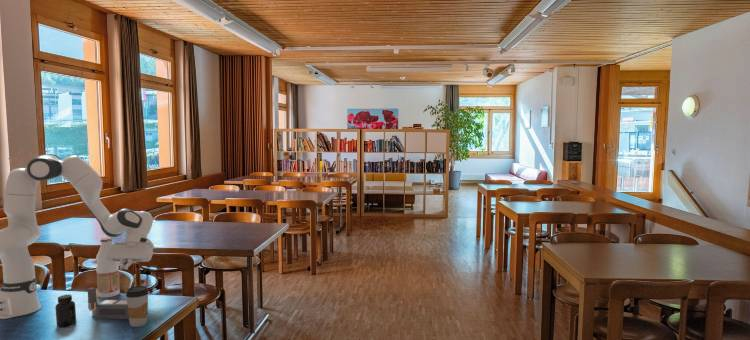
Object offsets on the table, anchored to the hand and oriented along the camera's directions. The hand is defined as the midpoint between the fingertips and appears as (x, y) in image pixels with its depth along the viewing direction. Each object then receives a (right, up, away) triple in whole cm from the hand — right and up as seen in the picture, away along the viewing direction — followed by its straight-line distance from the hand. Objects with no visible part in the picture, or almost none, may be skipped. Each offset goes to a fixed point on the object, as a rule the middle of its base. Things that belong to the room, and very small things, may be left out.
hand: (123, 269), depth 210 cm
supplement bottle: (-13, -19, -19) cm, 30 cm away
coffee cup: (+17, -19, -19) cm, 31 cm away
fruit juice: (-16, -16, +17) cm, 28 cm away
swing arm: (-3, -11, -17) cm, 20 cm away
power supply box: (+1, -18, -10) cm, 21 cm away
